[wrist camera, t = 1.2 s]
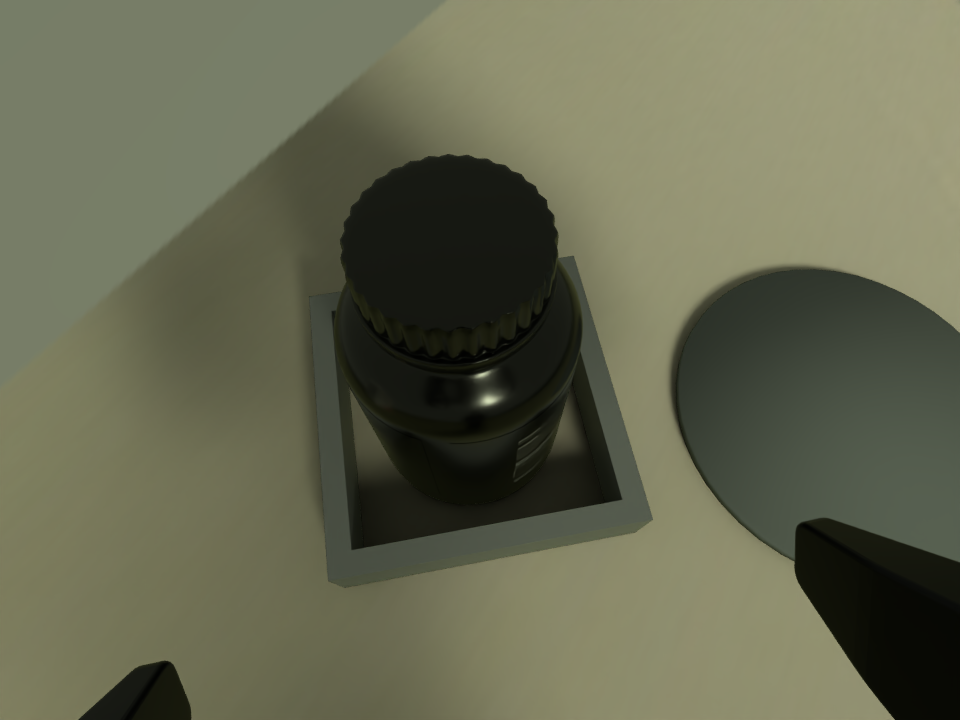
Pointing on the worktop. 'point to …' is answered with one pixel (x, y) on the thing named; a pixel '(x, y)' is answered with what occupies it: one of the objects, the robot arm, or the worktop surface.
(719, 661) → the worktop surface
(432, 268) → the supplement bottle
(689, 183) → the worktop surface
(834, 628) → the robot arm
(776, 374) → the rubber mat
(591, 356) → the square grey tray
